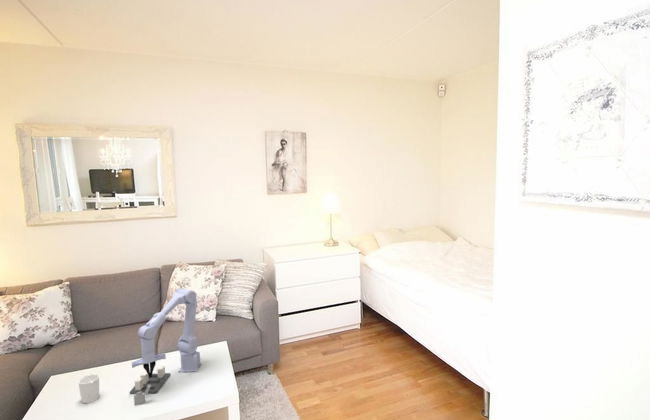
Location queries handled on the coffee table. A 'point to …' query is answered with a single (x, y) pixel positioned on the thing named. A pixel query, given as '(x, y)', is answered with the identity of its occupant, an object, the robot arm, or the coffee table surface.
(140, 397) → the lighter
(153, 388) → the switch unit
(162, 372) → the switch
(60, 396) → the coffee table surface
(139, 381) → the switch
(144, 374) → the switch
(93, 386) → the white cup
